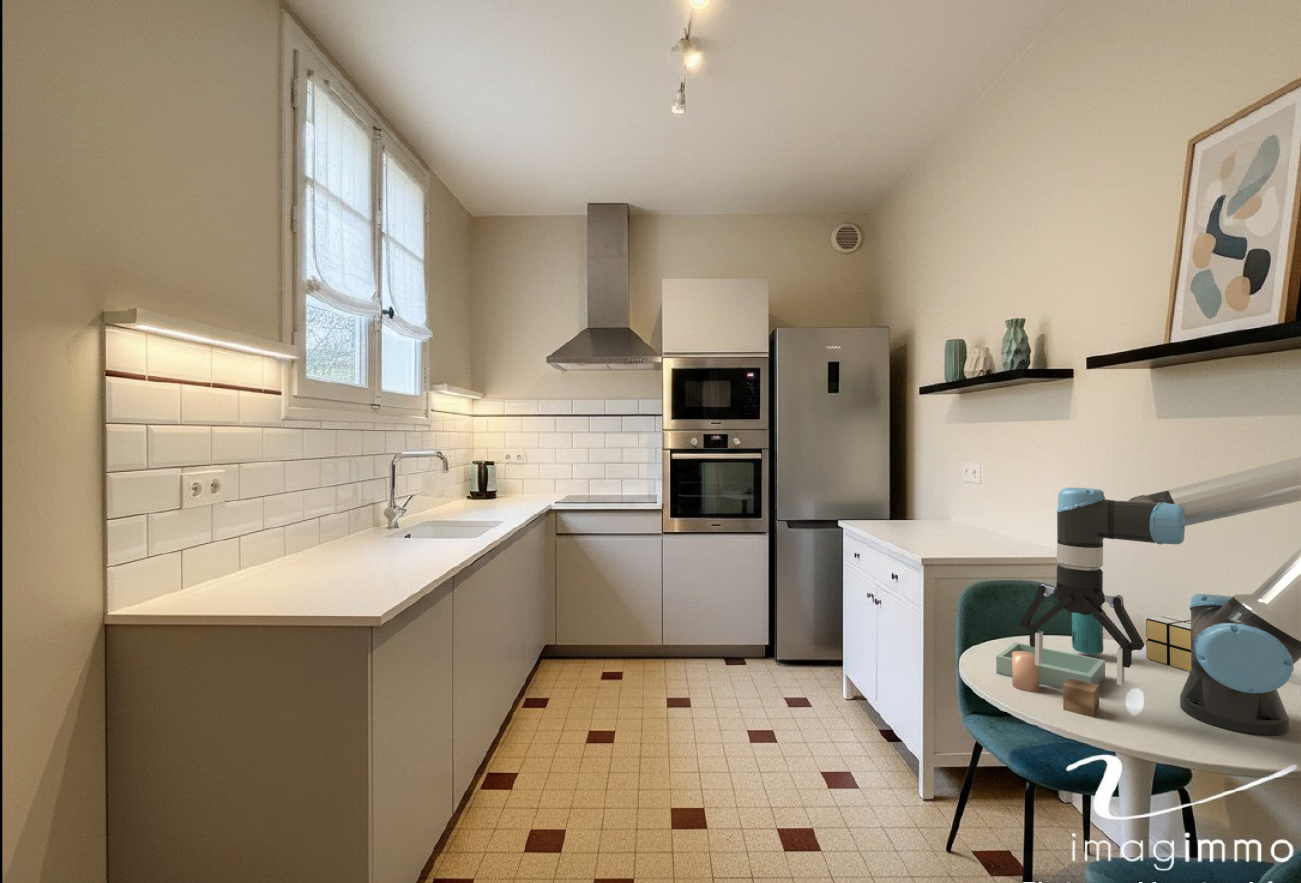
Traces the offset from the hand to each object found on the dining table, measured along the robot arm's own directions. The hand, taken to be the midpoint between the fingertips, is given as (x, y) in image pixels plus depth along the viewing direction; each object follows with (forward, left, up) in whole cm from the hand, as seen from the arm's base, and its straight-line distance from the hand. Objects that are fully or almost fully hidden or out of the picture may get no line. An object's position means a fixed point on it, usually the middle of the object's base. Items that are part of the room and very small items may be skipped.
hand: (1077, 673), depth 122 cm
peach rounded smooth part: (+11, -5, -7) cm, 14 cm away
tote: (+9, -16, -7) cm, 20 cm away
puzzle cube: (-11, -47, -7) cm, 49 cm away
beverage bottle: (+6, -37, -7) cm, 38 cm away
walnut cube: (0, 0, -7) cm, 7 cm away
